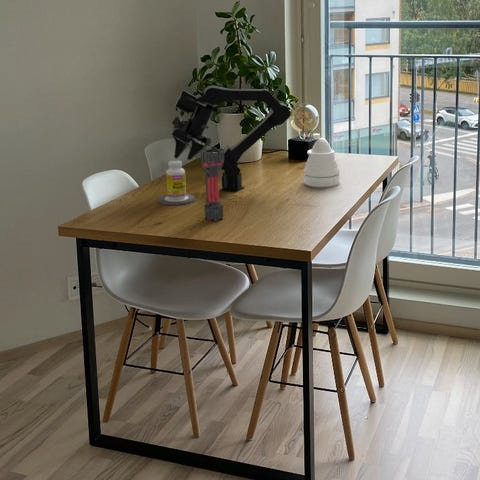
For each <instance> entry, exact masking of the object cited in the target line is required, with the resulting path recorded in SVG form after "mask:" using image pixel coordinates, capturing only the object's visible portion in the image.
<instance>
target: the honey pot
mask: <svg viewBox="0 0 480 480" xmlns="http://www.w3.org/2000/svg"><path fill="white" fill-rule="evenodd" d="M320 135H321V134H320V133H313V134H312V137H313V139H314V140H315V142H314V144H313V146H312V148H311V149H309V150H307V153H306V154H307V155H309V156H308V158H307V159H306V163H305V167H304V169H303V170H304V174H303V179H304V180H303V181H304V182H303V183H304V184H305V185H306V186H309V187H312V188H313V187H315V188H328V187H334V186H337V185H339V184H340V167H339V166H338V162H337V159H336V156H335V153H336V151H335V150H333V149H332V147H331V145H330V143H329V142H328V141H327V140H326V138H324V137H321V136H320Z"/></svg>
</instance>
